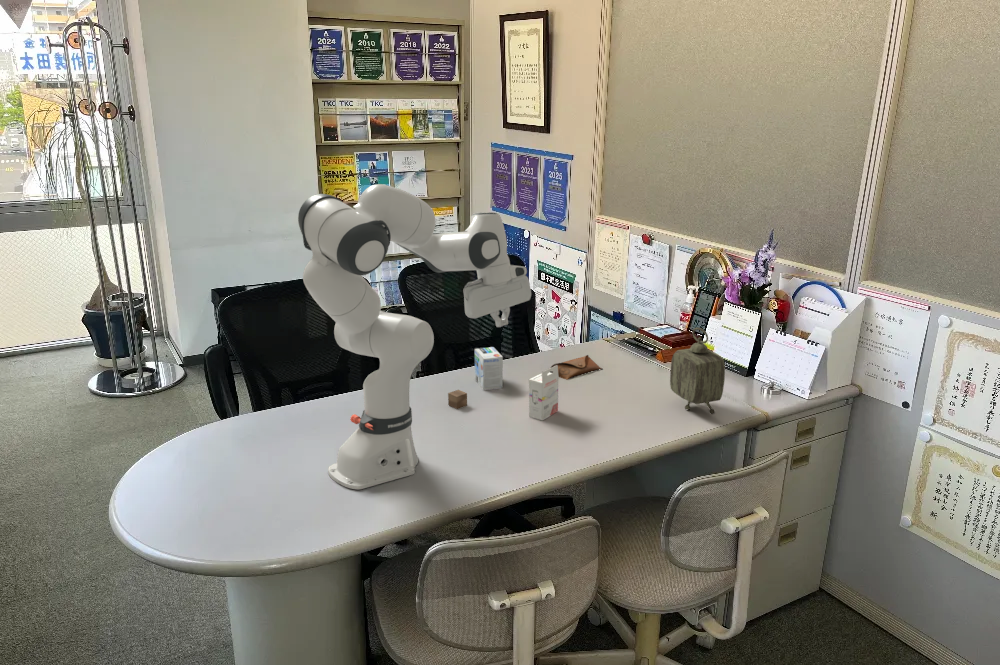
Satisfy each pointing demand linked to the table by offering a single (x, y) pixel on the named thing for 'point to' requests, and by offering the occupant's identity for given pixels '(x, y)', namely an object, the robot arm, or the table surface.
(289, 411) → the table surface
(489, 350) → the light bulb box
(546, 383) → the ink cartridge box
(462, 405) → the walnut block
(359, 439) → the robot arm
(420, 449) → the table surface
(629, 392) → the table surface
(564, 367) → the sunglasses case
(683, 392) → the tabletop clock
